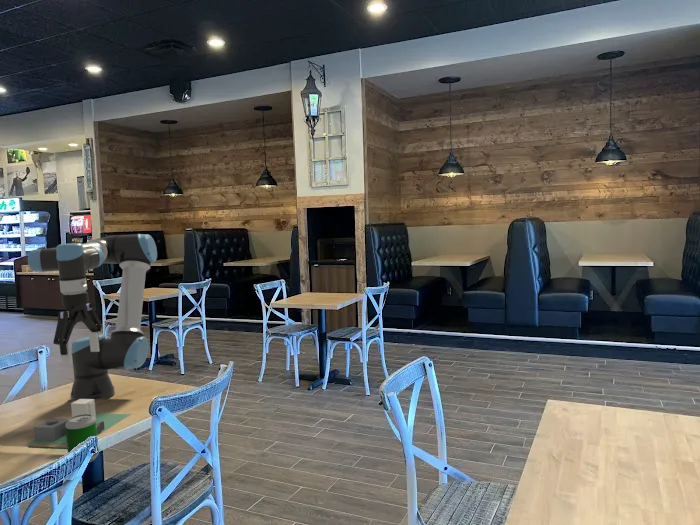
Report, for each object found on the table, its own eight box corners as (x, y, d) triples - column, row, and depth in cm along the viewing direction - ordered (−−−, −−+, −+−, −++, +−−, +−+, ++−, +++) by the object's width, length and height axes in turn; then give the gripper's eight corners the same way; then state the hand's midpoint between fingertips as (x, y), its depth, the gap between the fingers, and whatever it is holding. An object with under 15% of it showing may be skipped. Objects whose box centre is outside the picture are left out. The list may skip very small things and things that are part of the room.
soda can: (86, 467, 141) (82, 423, 140) (62, 465, 142) (58, 422, 141) (105, 454, 148) (101, 413, 147) (81, 453, 149) (78, 412, 149)
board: (83, 417, 179) (81, 399, 178) (131, 418, 175) (129, 400, 175) (28, 447, 155) (26, 427, 155) (82, 449, 152) (80, 429, 151)
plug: (82, 430, 163) (79, 398, 162) (98, 430, 162) (95, 399, 161) (73, 435, 159) (70, 403, 158) (89, 436, 158) (87, 403, 157)
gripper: (57, 300, 153) (65, 370, 155) (109, 285, 177) (115, 346, 180) (34, 300, 154) (43, 370, 156) (89, 285, 178) (95, 346, 181)
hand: (81, 357), depth 168 cm, fingers open, 13 cm apart
